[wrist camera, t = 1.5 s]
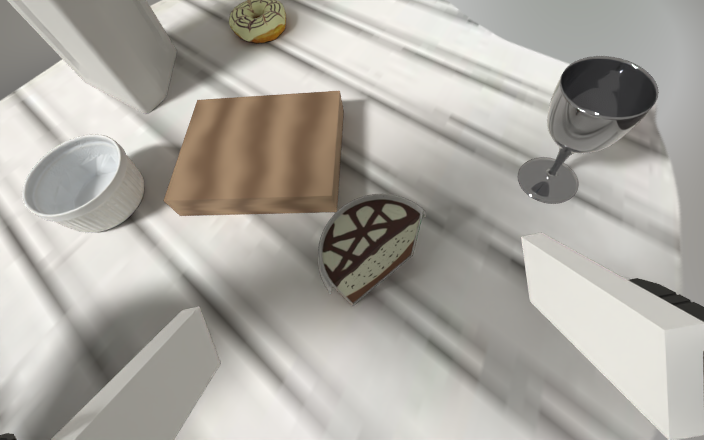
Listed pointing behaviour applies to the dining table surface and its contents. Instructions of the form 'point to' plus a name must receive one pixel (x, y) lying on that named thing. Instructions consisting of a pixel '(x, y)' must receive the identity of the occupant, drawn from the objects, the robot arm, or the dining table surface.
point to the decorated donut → (258, 20)
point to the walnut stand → (260, 156)
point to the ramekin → (84, 185)
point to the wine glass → (587, 120)
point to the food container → (367, 243)
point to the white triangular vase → (108, 45)
